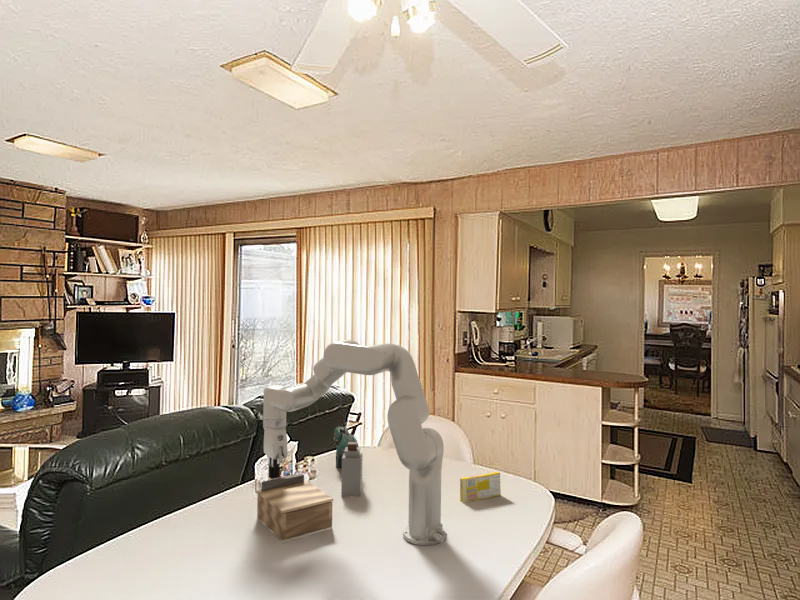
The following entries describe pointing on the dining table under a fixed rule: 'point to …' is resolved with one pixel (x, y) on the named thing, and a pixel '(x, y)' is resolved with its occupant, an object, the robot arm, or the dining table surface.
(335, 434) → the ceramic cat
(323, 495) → the sliding wooden box lid
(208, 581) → the dining table surface
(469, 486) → the candy box
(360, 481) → the perfume bottle
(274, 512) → the wooden box
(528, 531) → the dining table surface
